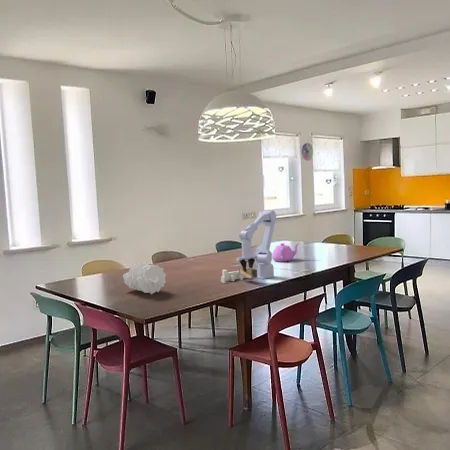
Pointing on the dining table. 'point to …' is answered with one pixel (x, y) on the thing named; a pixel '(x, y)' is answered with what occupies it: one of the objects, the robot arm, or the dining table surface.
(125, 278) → the white faceted lump
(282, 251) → the teapot
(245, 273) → the rail
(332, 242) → the dining table surface
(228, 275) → the white comb rack
